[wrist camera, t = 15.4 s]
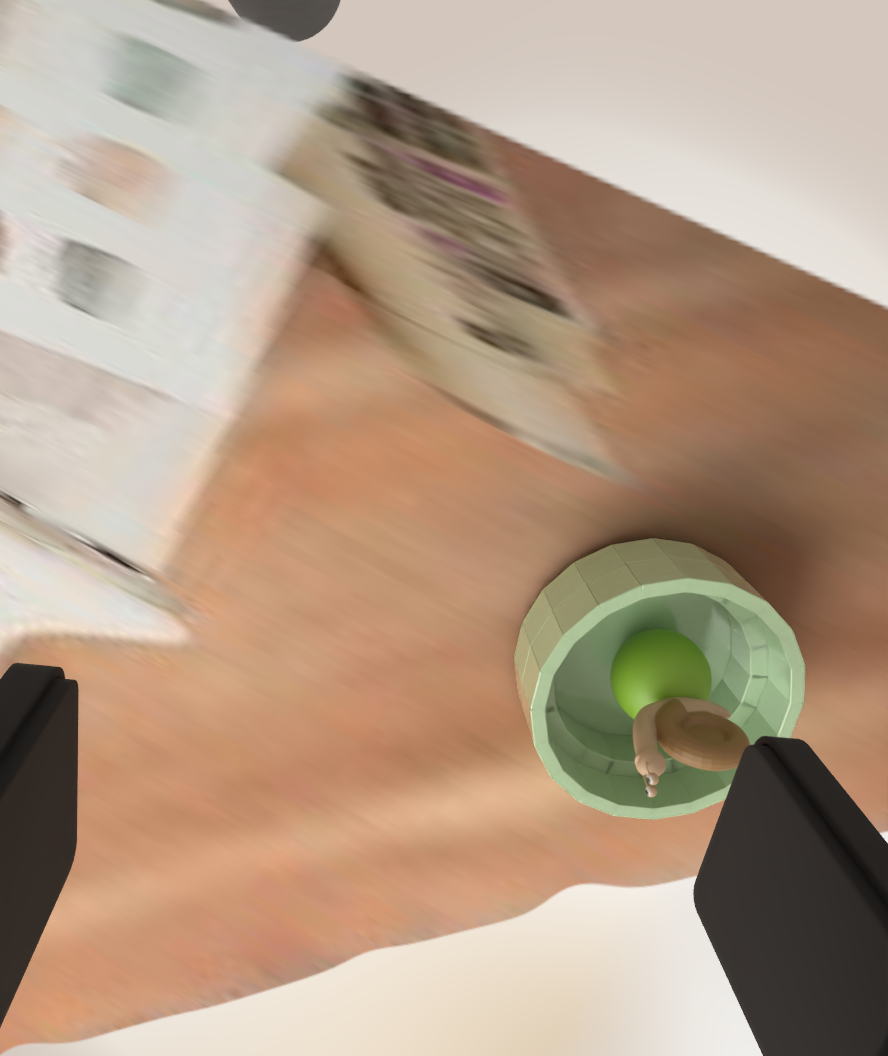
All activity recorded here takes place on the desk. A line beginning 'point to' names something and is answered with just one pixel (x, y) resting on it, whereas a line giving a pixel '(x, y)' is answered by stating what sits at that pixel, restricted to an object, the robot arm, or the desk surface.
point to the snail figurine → (673, 705)
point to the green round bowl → (597, 634)
